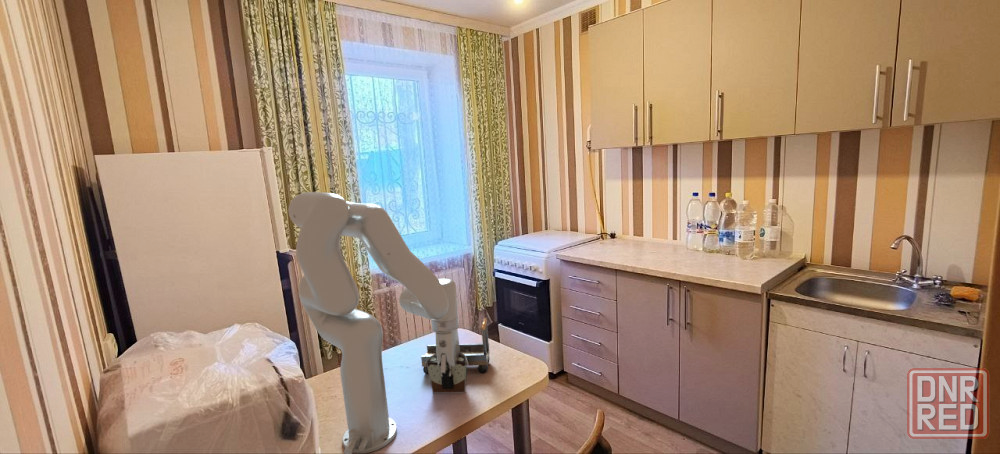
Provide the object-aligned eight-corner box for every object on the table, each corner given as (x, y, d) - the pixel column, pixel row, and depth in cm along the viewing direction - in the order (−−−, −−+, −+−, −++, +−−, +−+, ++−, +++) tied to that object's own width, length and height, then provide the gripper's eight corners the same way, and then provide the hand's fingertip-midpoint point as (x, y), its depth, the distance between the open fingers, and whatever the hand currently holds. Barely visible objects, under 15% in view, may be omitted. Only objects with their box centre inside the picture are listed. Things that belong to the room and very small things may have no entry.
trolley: (488, 374, 128) (484, 327, 126) (423, 375, 130) (418, 329, 127) (490, 361, 136) (487, 317, 134) (429, 362, 138) (424, 319, 135)
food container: (473, 381, 125) (471, 349, 123) (470, 392, 119) (467, 359, 117) (432, 381, 126) (429, 350, 125) (427, 393, 120) (424, 360, 118)
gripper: (452, 335, 110) (458, 399, 113) (463, 311, 127) (467, 367, 130) (424, 336, 111) (430, 400, 114) (438, 312, 127) (443, 368, 130)
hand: (450, 382), depth 122 cm, fingers closed on food container, 5 cm apart
